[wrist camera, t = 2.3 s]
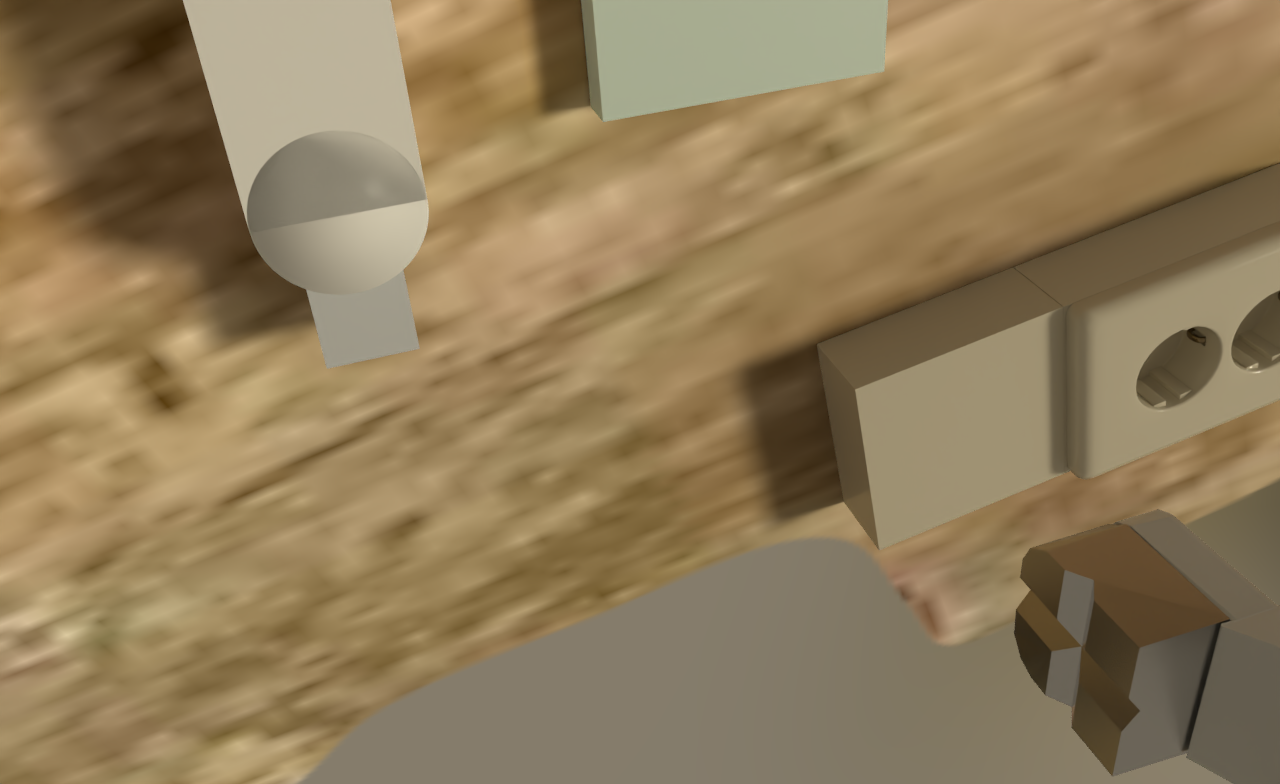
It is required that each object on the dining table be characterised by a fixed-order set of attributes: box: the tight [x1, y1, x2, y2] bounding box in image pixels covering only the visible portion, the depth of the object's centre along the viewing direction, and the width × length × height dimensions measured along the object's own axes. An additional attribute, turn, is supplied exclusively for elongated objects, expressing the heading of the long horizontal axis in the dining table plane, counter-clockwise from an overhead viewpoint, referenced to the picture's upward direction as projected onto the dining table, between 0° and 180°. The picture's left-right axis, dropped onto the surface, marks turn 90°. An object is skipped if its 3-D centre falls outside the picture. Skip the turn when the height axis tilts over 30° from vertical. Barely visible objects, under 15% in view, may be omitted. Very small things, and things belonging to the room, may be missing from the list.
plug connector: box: [183, 0, 429, 369], centre depth 26 cm, size 15×4×4 cm, turn 4°
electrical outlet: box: [817, 163, 1280, 550], centre depth 39 cm, size 7×4×18 cm
